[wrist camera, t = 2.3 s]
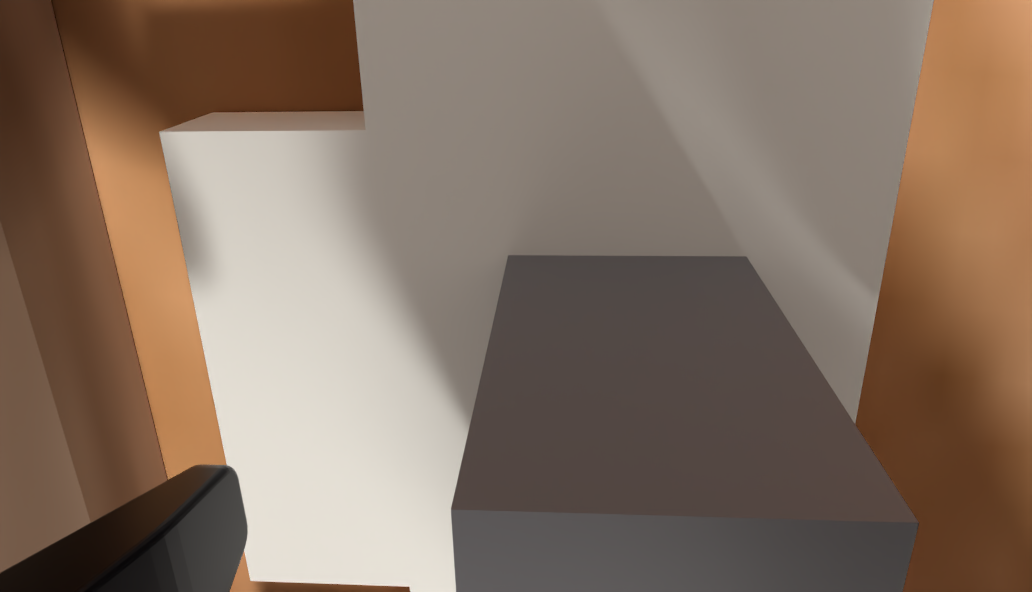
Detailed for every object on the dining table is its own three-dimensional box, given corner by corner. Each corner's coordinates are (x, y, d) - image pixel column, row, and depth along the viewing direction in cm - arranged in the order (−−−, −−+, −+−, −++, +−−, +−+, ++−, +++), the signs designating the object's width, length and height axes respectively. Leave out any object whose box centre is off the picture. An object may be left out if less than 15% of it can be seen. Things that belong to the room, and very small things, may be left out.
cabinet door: (926, -297, 8) (1868, -1034, 2) (766, 715, 14) (904, 1230, 8) (146, -263, 9) (-728, -773, 3) (313, 693, 15) (145, 1161, 9)
